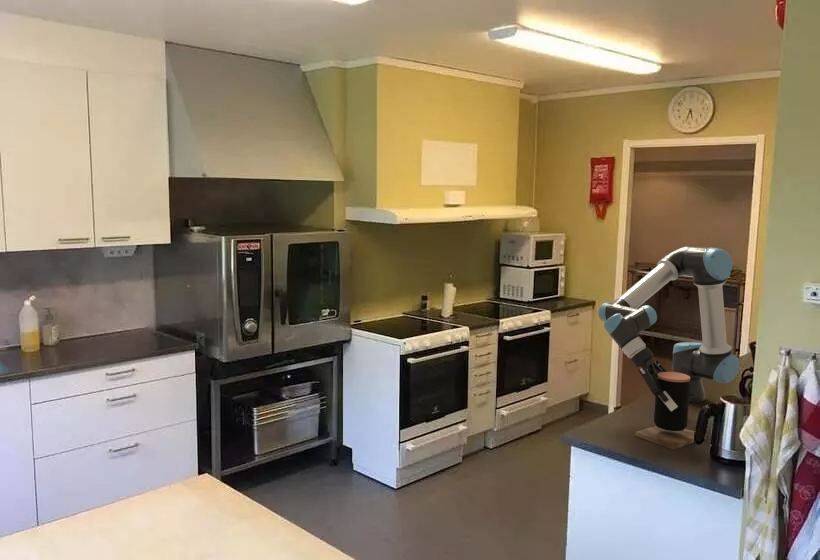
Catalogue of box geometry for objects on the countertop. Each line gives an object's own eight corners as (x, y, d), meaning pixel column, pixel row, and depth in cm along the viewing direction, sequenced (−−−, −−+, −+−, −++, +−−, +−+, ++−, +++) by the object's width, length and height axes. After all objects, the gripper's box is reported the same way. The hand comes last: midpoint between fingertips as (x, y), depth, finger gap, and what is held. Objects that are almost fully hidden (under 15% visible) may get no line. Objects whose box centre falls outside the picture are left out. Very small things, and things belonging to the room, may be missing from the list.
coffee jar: (681, 422, 235) (685, 372, 233) (691, 432, 225) (694, 380, 223) (650, 420, 236) (653, 370, 234) (658, 431, 226) (661, 378, 224)
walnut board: (666, 426, 242) (666, 422, 242) (705, 439, 230) (705, 435, 230) (635, 435, 232) (635, 431, 232) (673, 449, 220) (673, 445, 220)
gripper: (642, 353, 247) (683, 403, 239) (616, 364, 229) (659, 419, 221) (658, 341, 243) (699, 392, 235) (632, 351, 225) (677, 407, 217)
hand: (680, 405), depth 228 cm, fingers closed on coffee jar, 11 cm apart
